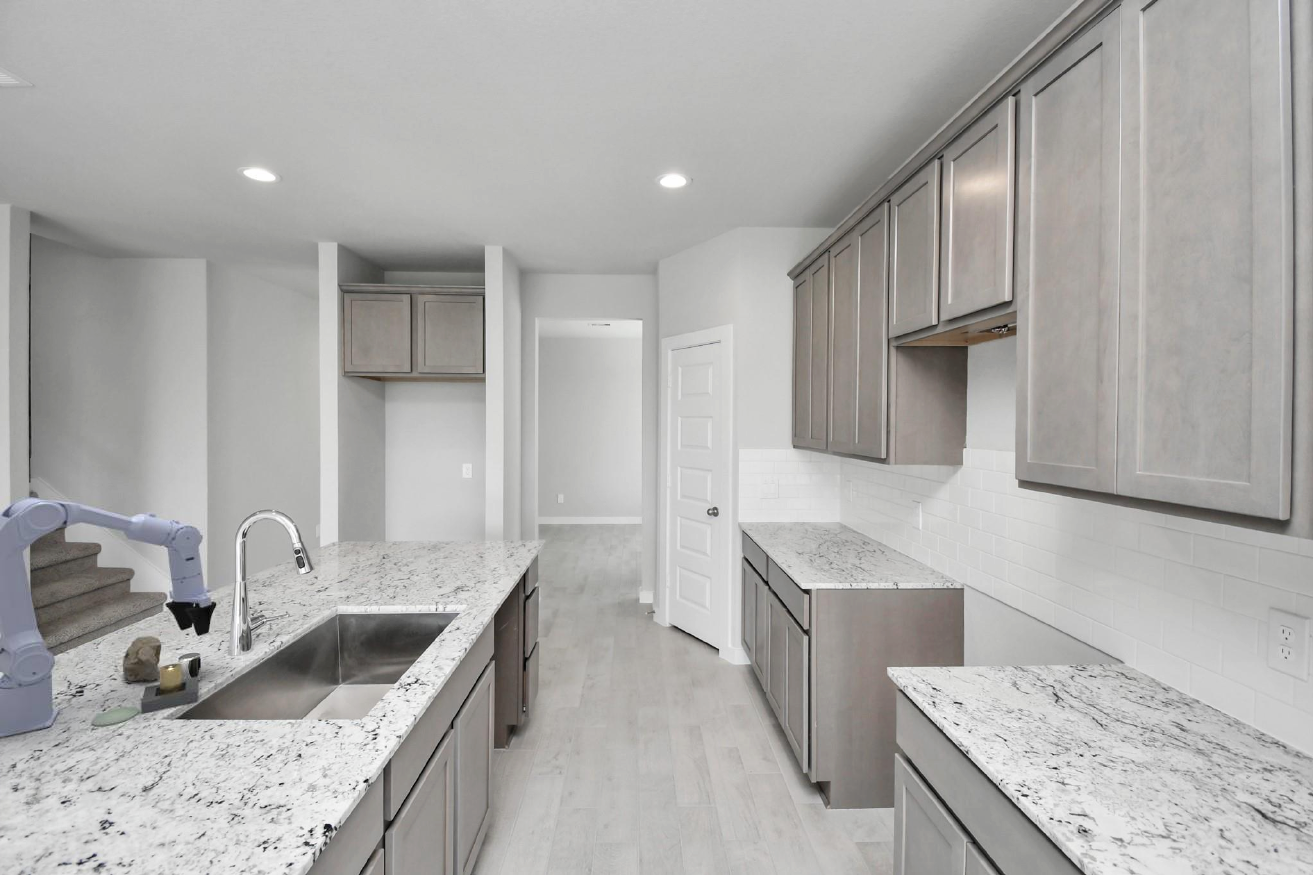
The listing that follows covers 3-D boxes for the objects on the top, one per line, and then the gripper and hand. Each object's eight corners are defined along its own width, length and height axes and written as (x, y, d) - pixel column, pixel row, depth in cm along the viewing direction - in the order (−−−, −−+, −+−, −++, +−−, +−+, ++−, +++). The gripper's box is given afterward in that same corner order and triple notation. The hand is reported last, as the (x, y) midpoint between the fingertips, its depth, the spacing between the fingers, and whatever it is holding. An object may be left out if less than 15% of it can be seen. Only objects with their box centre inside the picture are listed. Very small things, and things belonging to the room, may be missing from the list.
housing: (141, 713, 121) (141, 702, 121) (145, 697, 128) (145, 686, 128) (197, 701, 126) (197, 691, 126) (198, 686, 134) (197, 676, 134)
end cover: (159, 704, 125) (159, 670, 125) (160, 698, 128) (160, 664, 128) (181, 700, 127) (181, 666, 127) (182, 693, 130) (181, 661, 130)
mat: (88, 729, 115) (88, 727, 115) (94, 715, 120) (94, 713, 120) (137, 719, 119) (136, 717, 119) (140, 705, 124) (140, 703, 124)
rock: (121, 665, 142) (127, 628, 140) (157, 662, 146) (163, 626, 144) (117, 699, 133) (123, 660, 131) (155, 694, 137) (162, 657, 135)
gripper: (222, 573, 138) (230, 629, 140) (190, 566, 145) (198, 619, 147) (187, 583, 132) (195, 642, 134) (156, 575, 139) (164, 631, 141)
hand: (194, 631), depth 140 cm, fingers open, 7 cm apart
